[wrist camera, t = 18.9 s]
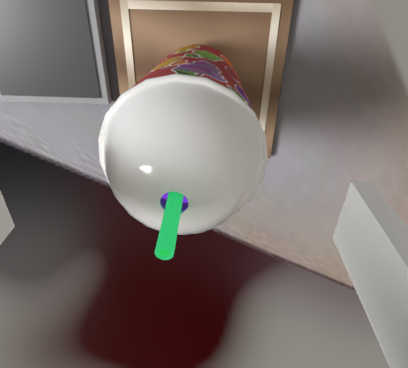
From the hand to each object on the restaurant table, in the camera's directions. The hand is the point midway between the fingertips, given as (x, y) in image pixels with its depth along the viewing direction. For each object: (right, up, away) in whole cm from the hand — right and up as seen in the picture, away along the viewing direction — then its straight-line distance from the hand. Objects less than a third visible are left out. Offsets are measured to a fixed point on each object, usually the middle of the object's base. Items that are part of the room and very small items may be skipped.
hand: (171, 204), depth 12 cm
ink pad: (-12, +13, +14) cm, 23 cm away
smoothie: (+1, +9, +15) cm, 18 cm away
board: (+1, +10, +16) cm, 18 cm away
